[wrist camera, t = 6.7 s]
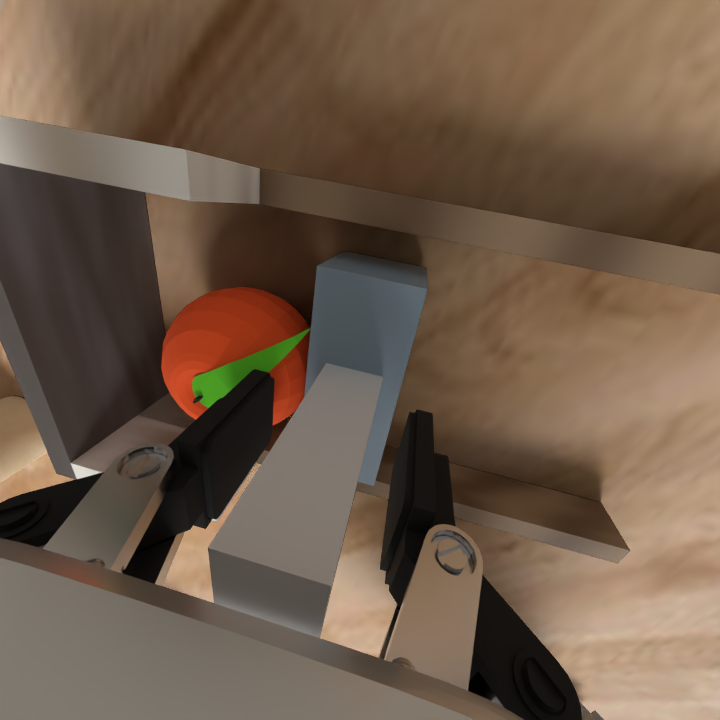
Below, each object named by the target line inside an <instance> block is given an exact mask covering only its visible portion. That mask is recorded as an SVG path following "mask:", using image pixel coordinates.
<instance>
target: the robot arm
mask: <svg viewBox="0 0 720 720" xmlns="http://www.w3.org/2000/svg"><path fill="white" fill-rule="evenodd" d="M273 405H274V378H273V377H271V375H270V373H269V372H265V371H261V370H257V369H254V370H252V371H251V372H250V373H249V374H248V375H247V376H246V377H245V378H243V379H242V380H241V381H240V382H239V383H238V384H237V385H236V386H235V387H234V388H233V389H232V390H231V391H230V392H228V393H227V394H226V395H225V396H224V397H223V398H220V399H218V400H217V401H216V402H215V403H214V404H213V405H211V406H210V407H209V408H208V409H207V410H206V411H205V412H204V413H203V414H202V415H201V416H199V417H198V418H197V419H196V420H195V421H194V422H193V423H192V424H191V425H190V426H189V427H187V428H186V429H185V430H184V431H183V432H182V433H181V434H180V435H179V436H178V437H177V438H175V439H174V440H173V441H172V442H171V443H170V444H169V445H168V446H166V445H164V444H160V443H146V444H142V445H137V446H135V447H132V448H130V449H128V450H126V451H125V452H123V453H121V454H120V455H119V456H118V457H117V458H116V459H115V460H114V461H113V462H112V463H111V464H110V466H109V467H108V468H107V469H106V471H105V472H102V473H98V474H95V475H91V476H87V477H84V478H80V479H76V480H73V481H69V482H65V483H61V484H58V485H54V486H50V487H47V488H43V489H39V490H36V491H32V492H28V493H25V494H21V495H18V496H15V497H13V498H10V499H7V500H5V501H3V502H1V503H0V720H604V719H603V718H602V717H601V716H600V715H599V714H598V713H597V712H596V711H593V712H592V713H590V712H589V711H588V710H587V709H586V708H585V707H584V706H583V705H582V704H581V703H580V701H579V699H578V696H577V693H576V690H575V688H574V686H573V684H572V682H571V680H570V678H569V676H568V675H567V673H566V672H565V671H564V669H563V668H562V667H561V665H560V664H559V662H558V661H557V660H556V659H555V658H554V657H553V655H552V654H551V653H550V652H549V651H548V650H547V649H546V647H545V646H544V645H543V644H542V643H541V642H540V640H539V639H538V638H537V637H536V636H535V635H534V634H533V632H532V631H531V630H530V629H529V628H528V627H527V626H526V624H525V623H524V622H523V621H522V620H521V619H520V617H519V616H518V615H517V614H516V613H515V612H514V611H513V609H512V608H511V607H510V606H509V605H508V604H507V602H506V601H505V600H504V599H503V598H502V597H501V596H500V594H499V593H498V592H497V591H496V590H495V589H494V588H493V586H492V585H491V584H490V583H489V582H488V581H487V579H486V578H485V577H484V576H483V575H482V574H483V558H482V555H481V553H480V550H479V548H478V547H477V545H476V543H475V542H474V541H473V539H472V538H471V537H470V536H469V535H468V534H467V533H465V532H464V531H462V530H461V529H459V528H457V527H455V518H454V508H453V498H452V487H451V477H450V467H449V459H448V457H447V456H445V455H442V454H438V453H434V437H433V415H432V413H429V412H425V411H421V410H416V412H415V413H412V412H410V413H409V416H408V419H407V423H406V426H405V429H404V432H403V436H402V439H401V442H400V446H399V449H398V452H397V456H396V459H395V462H394V466H393V470H392V475H391V483H390V491H389V499H388V507H387V515H386V523H385V531H384V539H383V547H382V555H381V563H380V569H381V570H384V571H386V578H385V584H388V585H389V591H390V593H391V595H392V596H393V598H394V599H395V601H396V606H395V609H394V612H393V615H392V618H391V621H390V624H389V627H388V630H387V632H386V635H385V638H384V641H383V644H382V647H381V650H380V653H379V656H378V658H377V657H374V656H371V655H368V654H365V653H362V652H359V651H356V650H353V649H350V648H347V647H344V646H341V645H338V644H335V643H332V642H329V641H326V640H323V639H320V638H318V637H315V636H312V635H309V634H306V633H303V632H300V631H297V630H294V629H291V628H288V627H285V626H282V625H279V624H276V623H272V622H269V621H266V620H263V619H260V618H257V617H254V616H251V615H248V614H245V613H242V612H239V611H236V610H233V609H230V608H227V607H224V606H221V605H218V604H215V603H212V602H209V601H206V600H202V599H199V598H196V597H193V596H190V595H187V594H184V593H181V592H178V591H175V590H172V589H169V588H166V587H163V586H162V585H163V582H164V580H165V578H166V575H167V573H168V571H169V568H170V566H171V564H172V561H173V559H174V557H175V554H176V552H177V549H178V547H179V545H180V542H181V540H182V538H183V535H184V532H185V531H187V530H190V529H191V527H192V526H193V525H194V526H198V527H201V528H204V529H206V528H207V526H208V525H209V523H210V522H211V520H212V519H215V520H216V519H218V518H219V517H220V515H221V514H222V512H223V511H224V509H225V508H226V506H227V505H228V503H229V502H230V500H231V499H232V497H233V496H234V494H235V493H236V491H237V490H238V488H239V487H240V485H241V484H242V482H243V481H244V479H245V478H246V476H247V475H248V473H249V472H250V470H251V469H252V467H253V466H254V464H255V463H256V461H257V460H258V458H259V457H260V455H261V454H262V452H263V451H264V449H265V448H266V446H267V445H268V443H269V442H270V440H271V437H272V429H273Z"/></svg>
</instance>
